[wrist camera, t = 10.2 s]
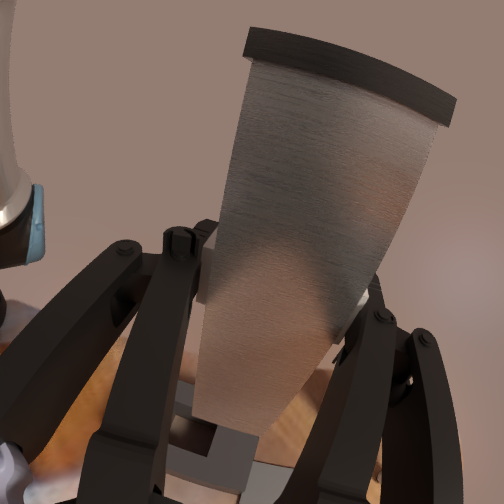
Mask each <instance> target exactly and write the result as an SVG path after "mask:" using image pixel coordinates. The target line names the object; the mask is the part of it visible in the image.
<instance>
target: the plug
mask: <svg viewBox="0 0 504 504" xmlns="http://www.w3.org/2000/svg"><path fill="white" fill-rule="evenodd" d="M243 57H244V58H246V59H248V60H250V61H251V62H252V65H251V69H250V74H249V78H248V82H247V86H246V91H245V95H244V99H243V104H242V108H241V113H240V117H239V122H238V126H237V131H236V136H235V140H234V145H233V150H232V155H231V160H230V165H229V170H228V176H227V180H226V185H225V191H224V196H223V201H222V207H221V212H220V218H219V224H218V229H217V235H216V241H215V247H214V253H213V259H212V265H211V271H210V278H209V284H208V291H207V297H206V304H205V311H204V318H203V325H202V332H201V340H200V348H199V355H198V363H197V372H196V380H195V389H194V398H193V407H192V416H194V417H197V418H200V419H203V420H205V421H208V422H211V423H214V424H217V425H221V426H224V427H227V428H230V429H234V430H237V431H241V432H244V433H248V434H252V435H256V436H260V437H262V436H263V435H264V434H265V433H266V431H267V430H268V429H269V428H270V427H271V426H272V424H273V423H274V422H275V421H276V420H277V418H278V417H279V416H280V415H281V413H282V412H283V411H284V410H285V409H286V407H287V406H288V405H289V403H290V402H291V401H292V400H293V398H294V397H295V396H296V395H297V393H298V392H299V391H300V389H301V388H302V387H303V385H304V384H305V383H306V381H307V380H308V379H309V377H310V376H311V374H312V373H313V372H314V370H315V369H316V367H317V366H318V365H319V363H320V362H321V360H322V359H323V357H324V356H325V355H326V353H327V351H328V350H329V349H330V347H331V346H332V344H333V343H334V341H335V340H336V338H337V337H338V335H339V333H340V332H341V330H342V329H343V327H344V326H345V324H346V322H347V321H348V319H349V318H350V316H351V314H352V313H353V311H354V309H355V308H356V306H357V304H358V303H359V301H360V299H361V298H362V296H363V294H364V292H365V291H366V289H367V287H368V285H369V284H370V282H371V280H372V278H373V276H374V274H375V273H376V271H377V269H378V267H379V265H380V263H381V261H382V259H383V257H384V255H385V254H386V252H387V250H388V248H389V246H390V244H391V242H392V240H393V237H394V235H395V233H396V231H397V229H398V227H399V225H400V222H401V221H402V218H403V216H404V214H405V212H406V210H407V207H408V205H409V203H410V200H411V198H412V196H413V193H414V191H415V188H416V186H417V184H418V181H419V179H420V176H421V173H422V171H423V168H424V165H425V163H426V160H427V157H428V155H429V152H430V149H431V146H432V143H433V140H434V137H435V134H436V131H437V128H438V125H441V126H445V127H449V125H450V122H451V118H452V115H453V111H454V108H455V104H456V101H457V99H456V98H455V97H453V96H451V95H450V94H448V93H446V92H444V91H443V90H441V89H439V88H437V87H436V86H434V85H432V84H430V83H428V82H426V81H424V80H422V79H420V78H418V77H416V76H414V75H412V74H410V73H408V72H406V71H404V70H402V69H399V68H397V67H395V66H392V65H390V64H388V63H386V62H383V61H381V60H378V59H375V58H373V57H370V56H367V55H365V54H362V53H359V52H356V51H353V50H351V49H347V48H345V47H341V46H338V45H335V44H331V43H328V42H324V41H321V40H317V39H313V38H309V37H305V36H300V35H296V34H291V33H286V32H281V31H276V30H270V29H264V28H257V27H250V29H249V33H248V37H247V40H246V44H245V48H244V52H243Z"/></svg>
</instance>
